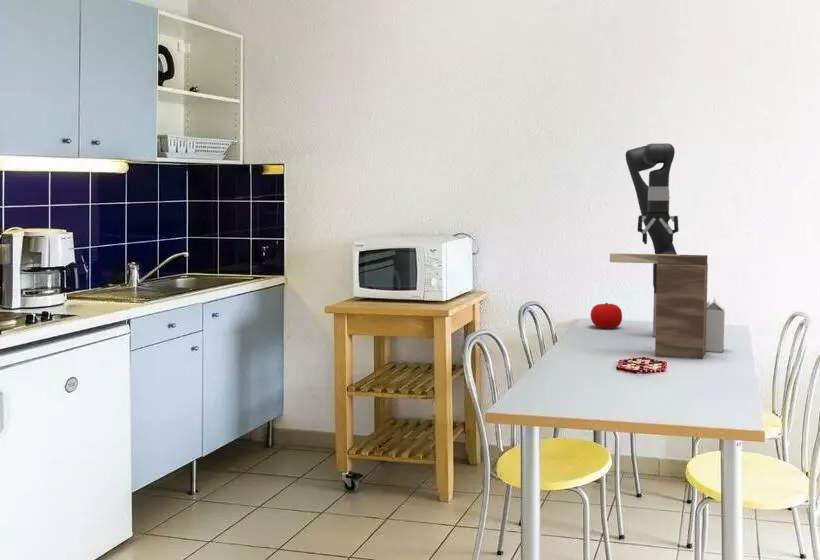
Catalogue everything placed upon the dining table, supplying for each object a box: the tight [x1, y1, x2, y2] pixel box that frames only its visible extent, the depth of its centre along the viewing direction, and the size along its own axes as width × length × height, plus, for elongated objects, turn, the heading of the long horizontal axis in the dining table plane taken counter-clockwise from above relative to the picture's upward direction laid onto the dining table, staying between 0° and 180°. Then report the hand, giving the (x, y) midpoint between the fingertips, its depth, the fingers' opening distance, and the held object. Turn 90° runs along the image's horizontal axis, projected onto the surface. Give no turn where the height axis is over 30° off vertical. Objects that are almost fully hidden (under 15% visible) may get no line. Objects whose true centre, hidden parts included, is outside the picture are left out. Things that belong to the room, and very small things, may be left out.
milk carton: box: [706, 296, 726, 353], centre depth 357 cm, size 7×7×19 cm
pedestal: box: [654, 254, 709, 360], centre depth 347 cm, size 12×16×35 cm
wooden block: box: [609, 252, 681, 264], centre depth 350 cm, size 3×24×3 cm, turn 69°
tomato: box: [590, 302, 623, 329], centre depth 413 cm, size 14×13×10 cm
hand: (657, 244), depth 359 cm, fingers open, 8 cm apart
